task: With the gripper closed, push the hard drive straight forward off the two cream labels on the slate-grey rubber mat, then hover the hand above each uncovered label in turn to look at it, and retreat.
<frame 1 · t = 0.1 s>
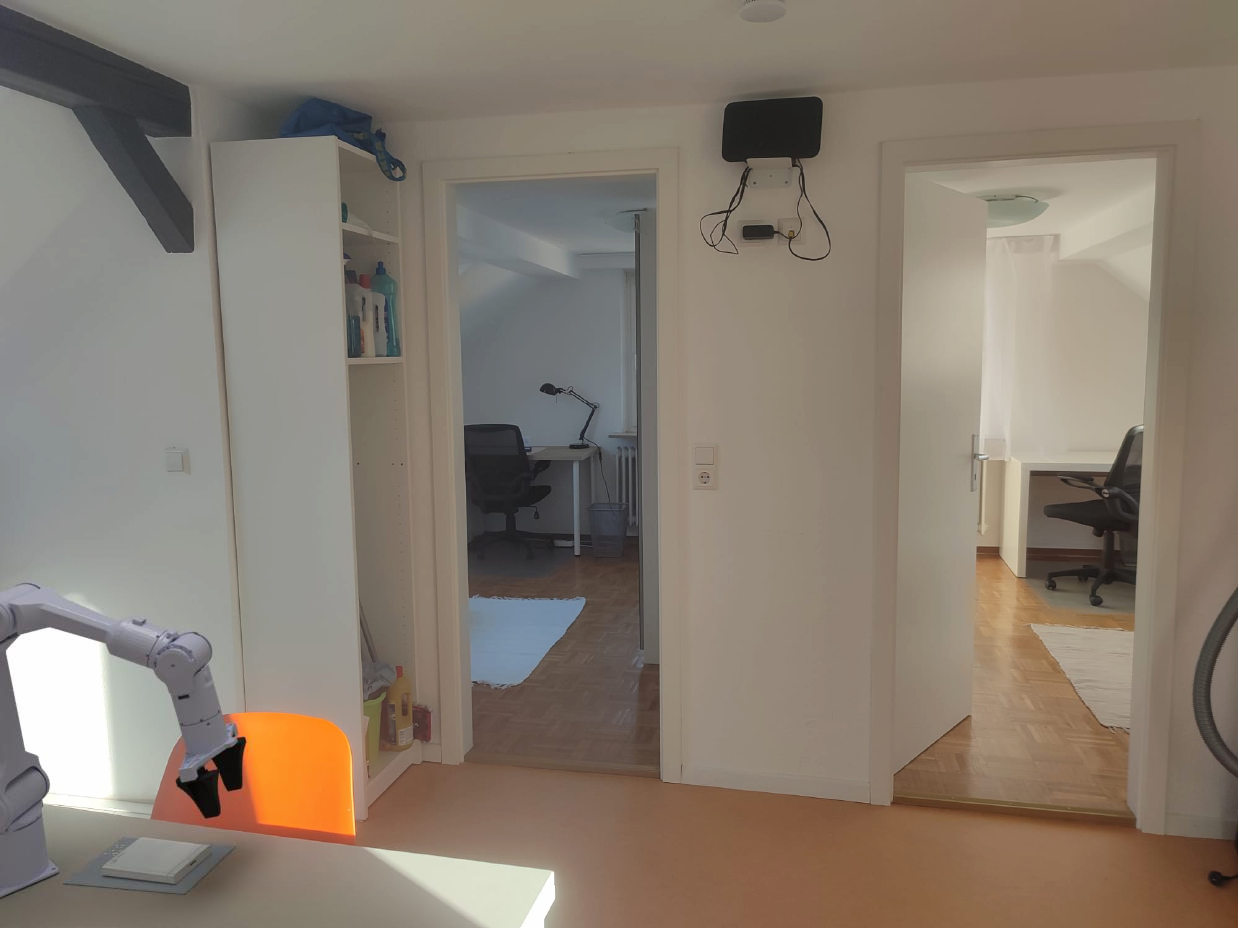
hand: (224, 802, 130), 11 cm above the table, tool pointing down, fingers open, 7 cm apart
hard drive: (158, 865, 133), resting on label mat
label mat: (152, 864, 133), on the table
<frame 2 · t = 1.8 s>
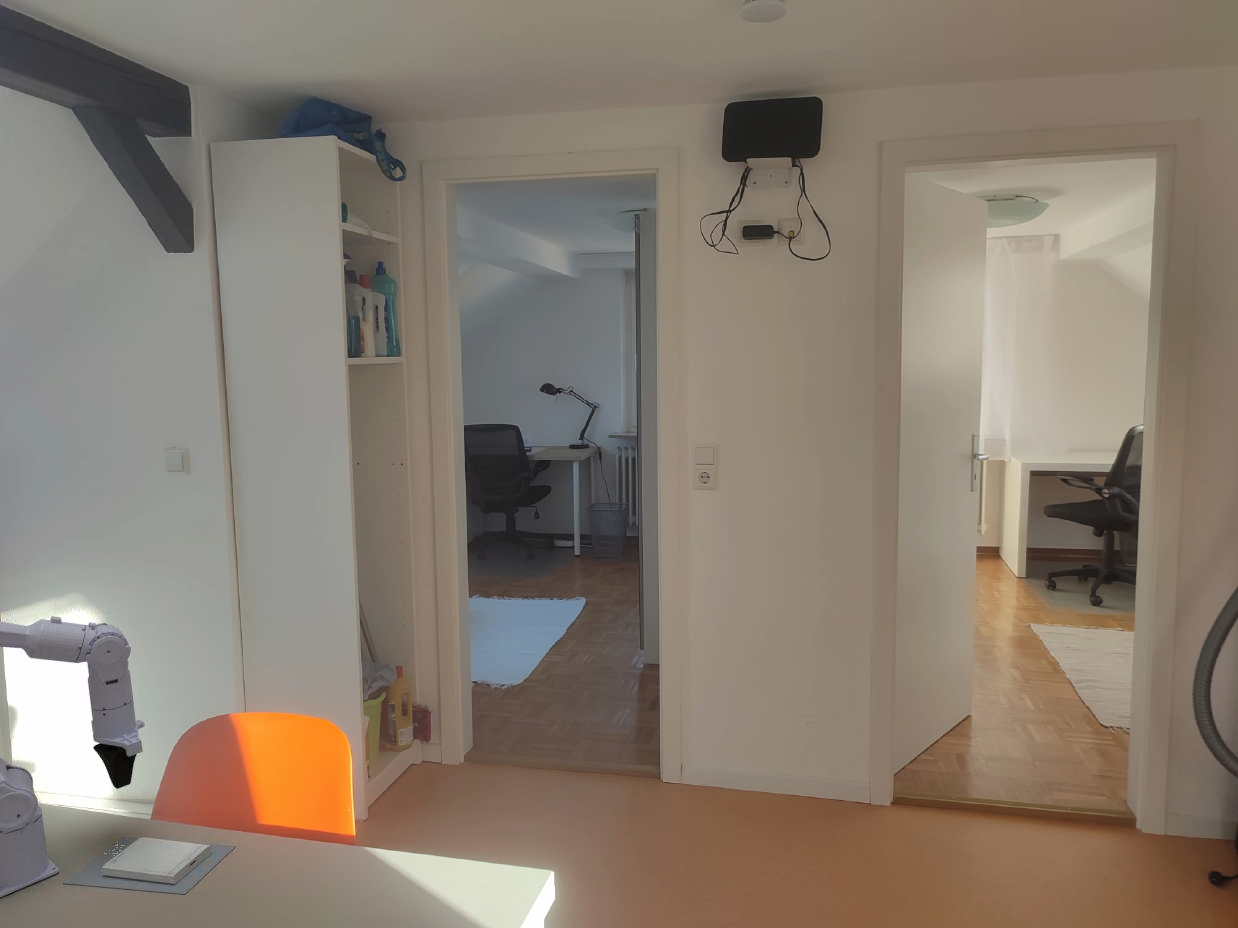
hand: (122, 785, 138), 9 cm above the table, tool pointing down, fingers closed
nothing on the table moved.
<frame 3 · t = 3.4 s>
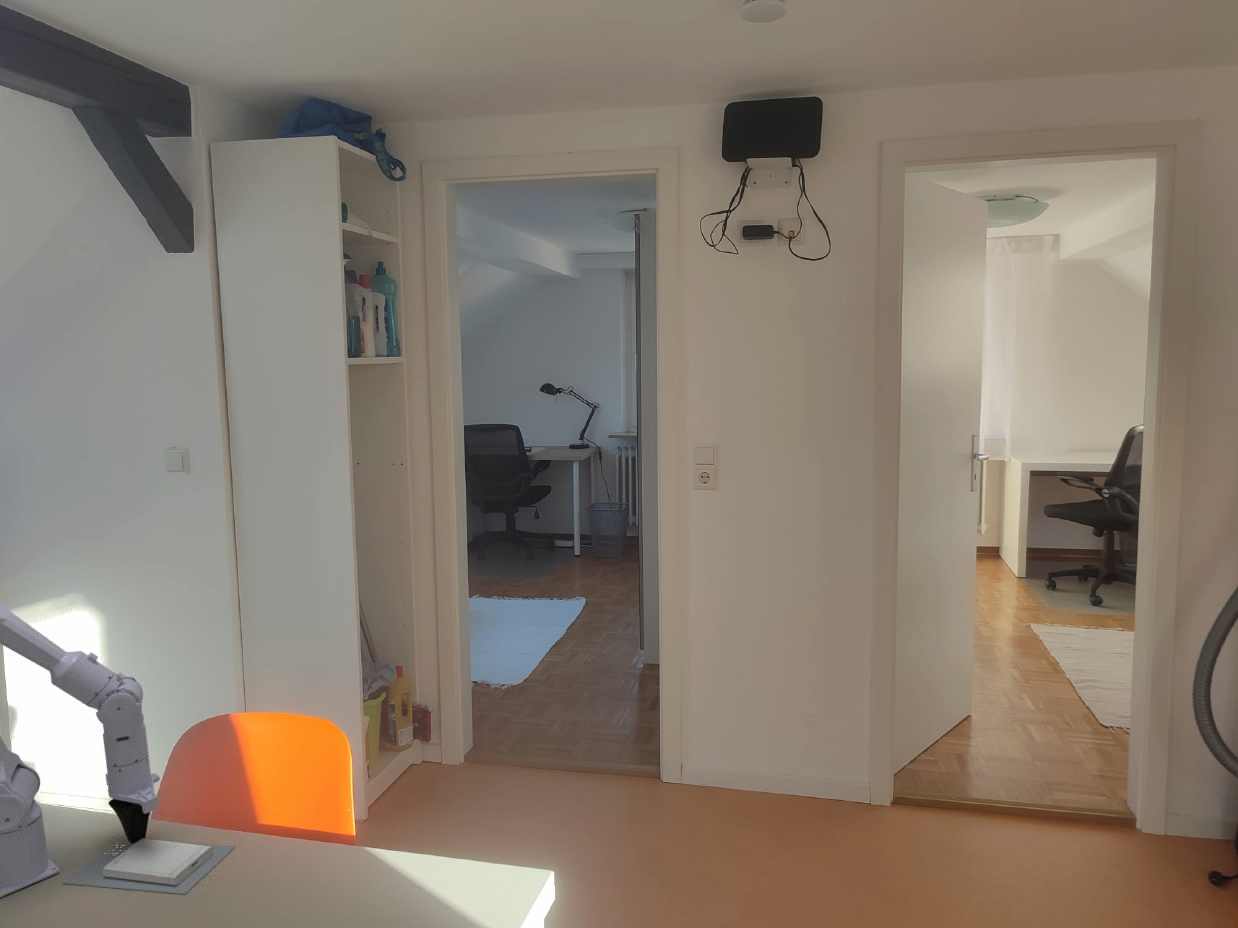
hand: (137, 839, 137), 1 cm above the table, tool pointing down, fingers closed
hard drive: (159, 866, 132), resting on label mat, touching gripper
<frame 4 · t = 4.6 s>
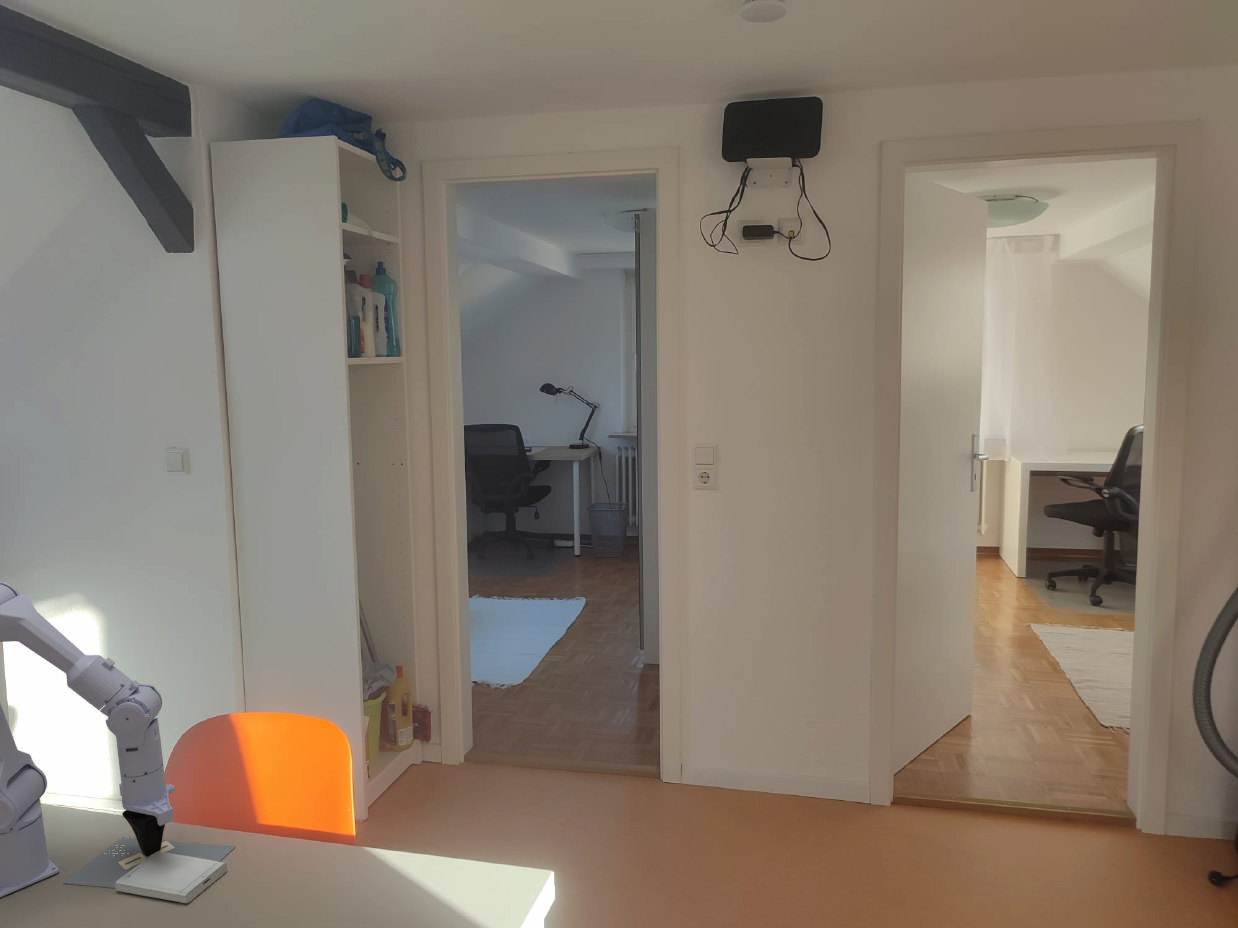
hand: (151, 852, 134), 1 cm above the table, tool pointing down, fingers closed
hard drive: (172, 882, 128), resting on label mat
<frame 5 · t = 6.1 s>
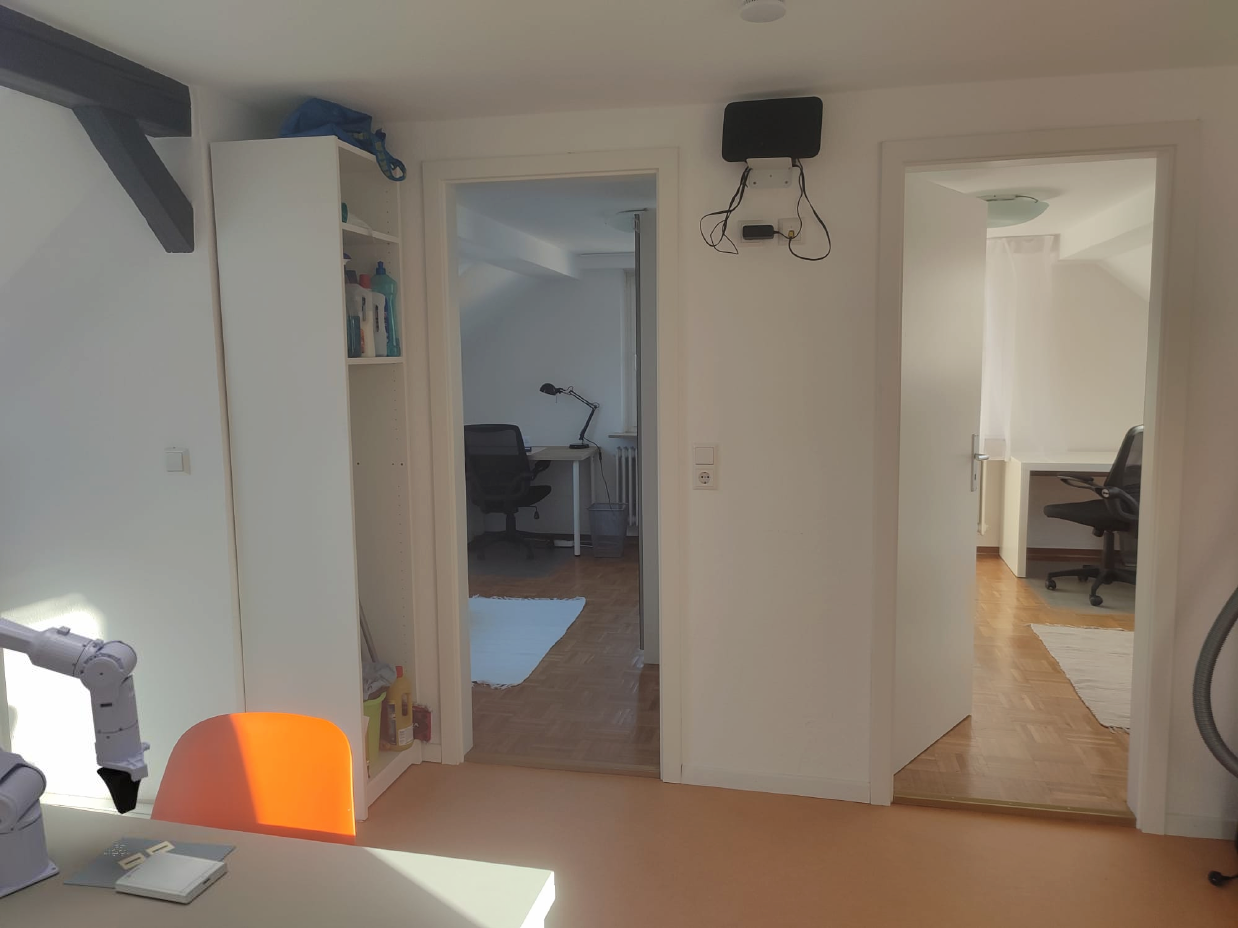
hand: (126, 810, 133), 8 cm above the table, tool pointing down, fingers closed
nothing on the table moved.
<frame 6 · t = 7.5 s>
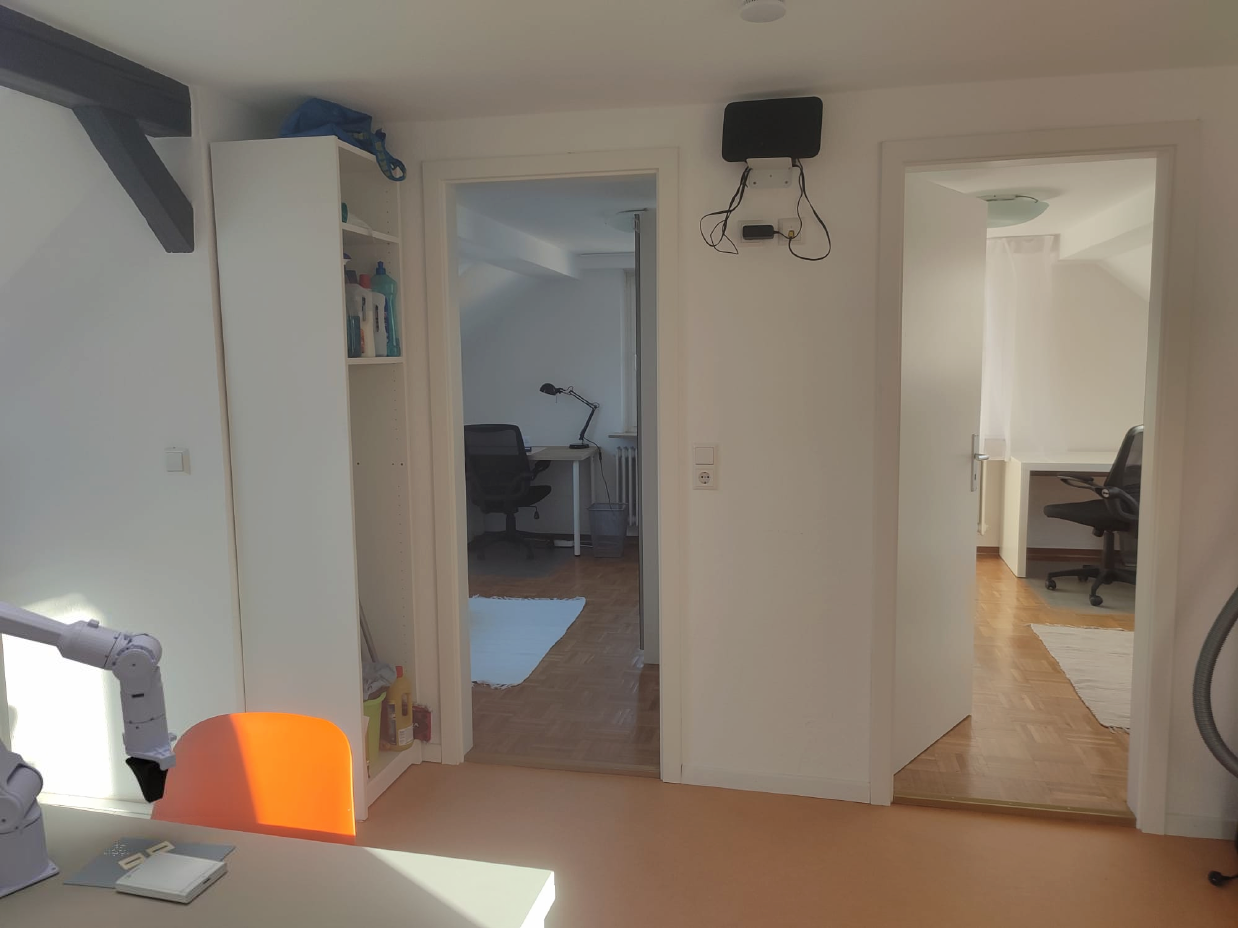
hand: (154, 799, 136), 8 cm above the table, tool pointing down, fingers closed
nothing on the table moved.
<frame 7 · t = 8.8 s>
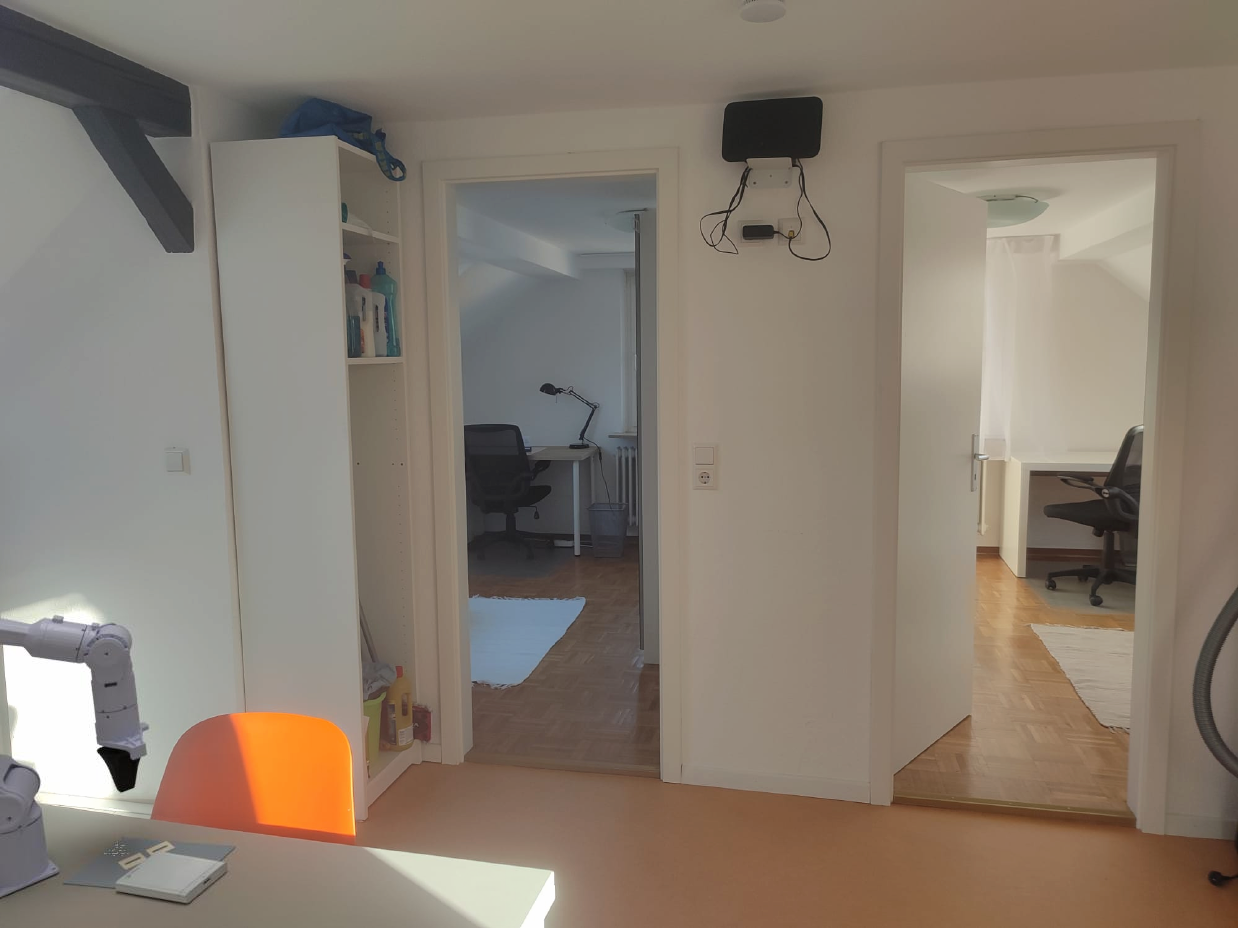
hand: (126, 788, 136), 10 cm above the table, tool pointing down, fingers closed
nothing on the table moved.
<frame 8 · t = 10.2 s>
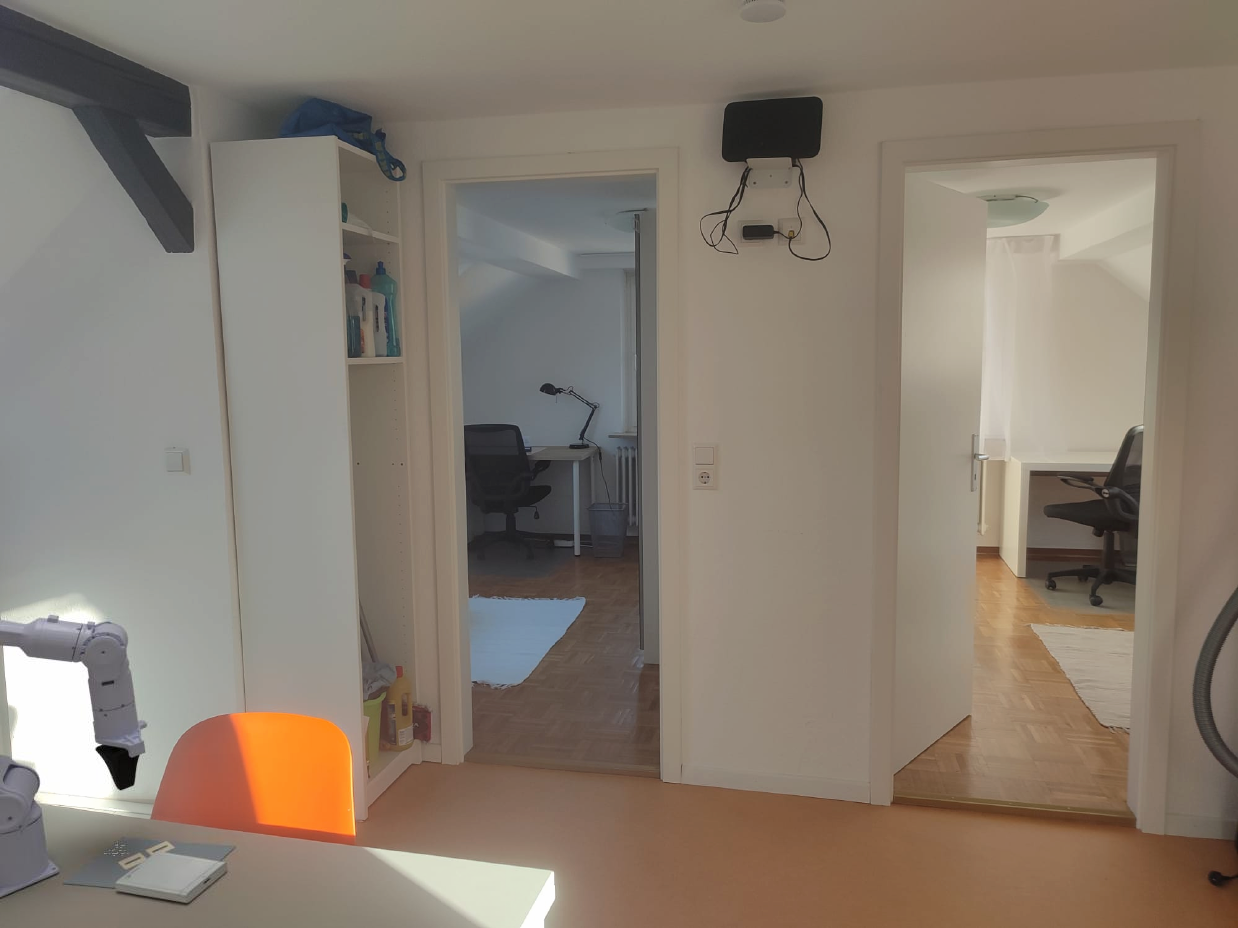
hand: (125, 786, 136), 10 cm above the table, tool pointing down, fingers closed
nothing on the table moved.
at the end: hard drive 0.4 cm from the target spot, resting on label mat; hard drive moved 6.1 cm from its start; hard drive tilted 0° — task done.
